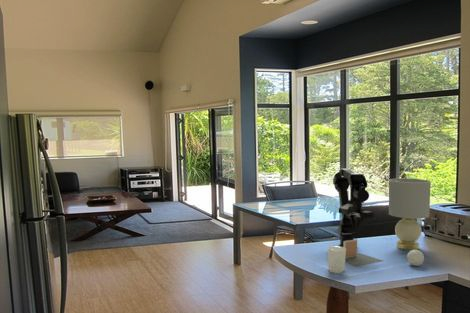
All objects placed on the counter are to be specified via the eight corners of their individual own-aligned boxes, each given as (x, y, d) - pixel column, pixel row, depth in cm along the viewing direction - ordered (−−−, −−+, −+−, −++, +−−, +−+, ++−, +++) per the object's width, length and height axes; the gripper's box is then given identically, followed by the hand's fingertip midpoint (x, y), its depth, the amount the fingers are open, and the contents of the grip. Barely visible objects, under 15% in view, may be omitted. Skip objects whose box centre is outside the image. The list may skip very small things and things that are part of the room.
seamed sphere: (422, 263, 222) (422, 248, 222) (425, 268, 215) (426, 252, 215) (399, 262, 224) (399, 247, 224) (402, 267, 217) (402, 251, 216)
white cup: (335, 274, 205) (335, 251, 204) (323, 269, 212) (323, 247, 211) (349, 272, 209) (349, 249, 208) (337, 267, 216) (338, 245, 215)
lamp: (383, 248, 249) (385, 180, 246) (392, 241, 266) (394, 177, 264) (424, 254, 238) (426, 183, 236) (431, 246, 255) (433, 179, 253)
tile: (343, 257, 229) (343, 241, 229) (355, 255, 234) (355, 239, 233) (344, 258, 228) (345, 241, 228) (357, 256, 233) (357, 239, 232)
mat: (331, 259, 229) (331, 257, 229) (359, 254, 238) (359, 252, 238) (356, 267, 215) (356, 266, 215) (384, 262, 224) (384, 260, 224)
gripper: (330, 197, 241) (330, 227, 242) (358, 202, 225) (357, 235, 226) (347, 195, 247) (346, 225, 248) (374, 200, 231) (374, 232, 232)
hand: (355, 229), depth 239 cm, fingers closed
